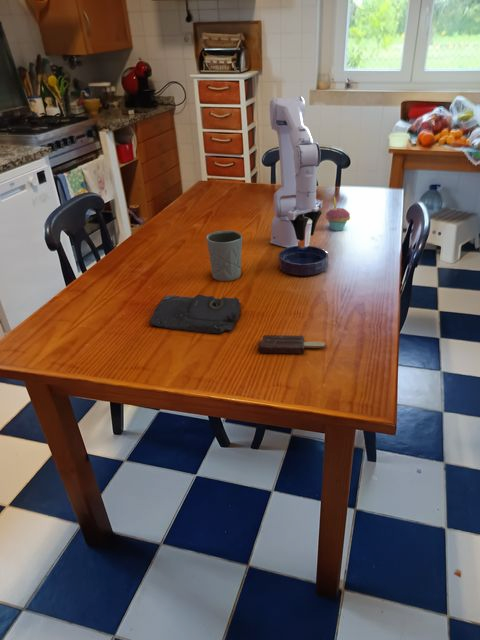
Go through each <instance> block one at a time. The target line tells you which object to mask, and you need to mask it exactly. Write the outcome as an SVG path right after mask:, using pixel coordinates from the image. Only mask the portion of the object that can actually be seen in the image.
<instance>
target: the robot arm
mask: <svg viewBox="0 0 480 640" xmlns="http://www.w3.org/2000/svg"><path fill="white" fill-rule="evenodd" d="M305 114H306V102H305V99H304V98H303V96H301V95H300V96H294V97H272V98H271V99H270V101H269V119H270V120H269V121H270V122H269V123H270V126H271V130H273V131H275V132H276V135H277V139H278V141H277V142H278V152H279V153H278V155H279V167H280V169H279V170H280V183H281V184H280V185H281V186H280V188H279V189H277V190H276V191H275V192H274V194H273V213H274V216H273V217H272V220H271V224H270V227H271V228H270V229H271V230H270V233H271V241H269V244H272V245H275V246H278V247H279V246H280V247H283V248H288V247H292V246H298V240H301V241H303V240H304V237H305V228H306V224H307V222H308V220H309V219H308V218H310V219H311V220H312V227H311V235H310V237H311V236H312V237H313V236H314V235H315V234H314V233H315V230H316V227H317V224H318V221H319V219H320V217H321V215H322V214H323V213H322V212H323V211H322V210H321V208H323V205H324V204H323V203H324V201H323V200H322V199H317V184H318V183H317V181H318V167H319V166H320V165H321V157H322V156H321V155H322V153H321V148H320V144H319V143H318V142H316V141H314V140H313V137H312V135H311V132H310V129H309V128H308V127H307V126H305V125H304V122H303V120H304V118H305ZM304 217H308V218H304Z"/></svg>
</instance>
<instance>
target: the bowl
mask: <svg viewBox="0 0 480 640" xmlns="http://www.w3.org/2000/svg"><path fill="white" fill-rule="evenodd" d="M278 267H279V269H280V270H281V271H283V272H284V273H285V274H289V275H293V276H297V277H298V276H300V277H305V276H306V277H307V276H314V275H318V274H321V273H323V272H324V271H326V270H327V269H328V267H329V252H328V251H326V249H323V248H321V247H318V246H314V245H309V248H308V249H306V250H301V249H299V248H298V246H292V247H288V248H286V247H284V248H283V249H282V250H281V251H279V253H278Z"/></svg>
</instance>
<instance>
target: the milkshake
mask: <svg viewBox="0 0 480 640" xmlns="http://www.w3.org/2000/svg"><path fill="white" fill-rule="evenodd" d="M304 218H308V217H304ZM308 219H309V220H308V222H307V224H306V228H305V237H304V240H303V241H301V240H298V248H299V249H301V250H306V249H308V248H309V246H310V242H311V227H312V220H311V219H310V218H308Z"/></svg>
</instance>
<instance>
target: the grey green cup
mask: <svg viewBox="0 0 480 640" xmlns="http://www.w3.org/2000/svg"><path fill="white" fill-rule="evenodd" d="M205 238H206V244H207V250H208V253H209V262H210V266H211V267H210V268H211V269H210V270H211V275H212V278H213V279H214V280H217V281H218V282H219V281H220V282H230V281H235V280H237V279H239V278H240V277H241V275H242V250H243V249H242V248H243V247H242V246H243V235H242V233H240V232H238V231H235V230H218V231H213V232H210V233H209V234H207V235H206V237H205Z"/></svg>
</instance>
